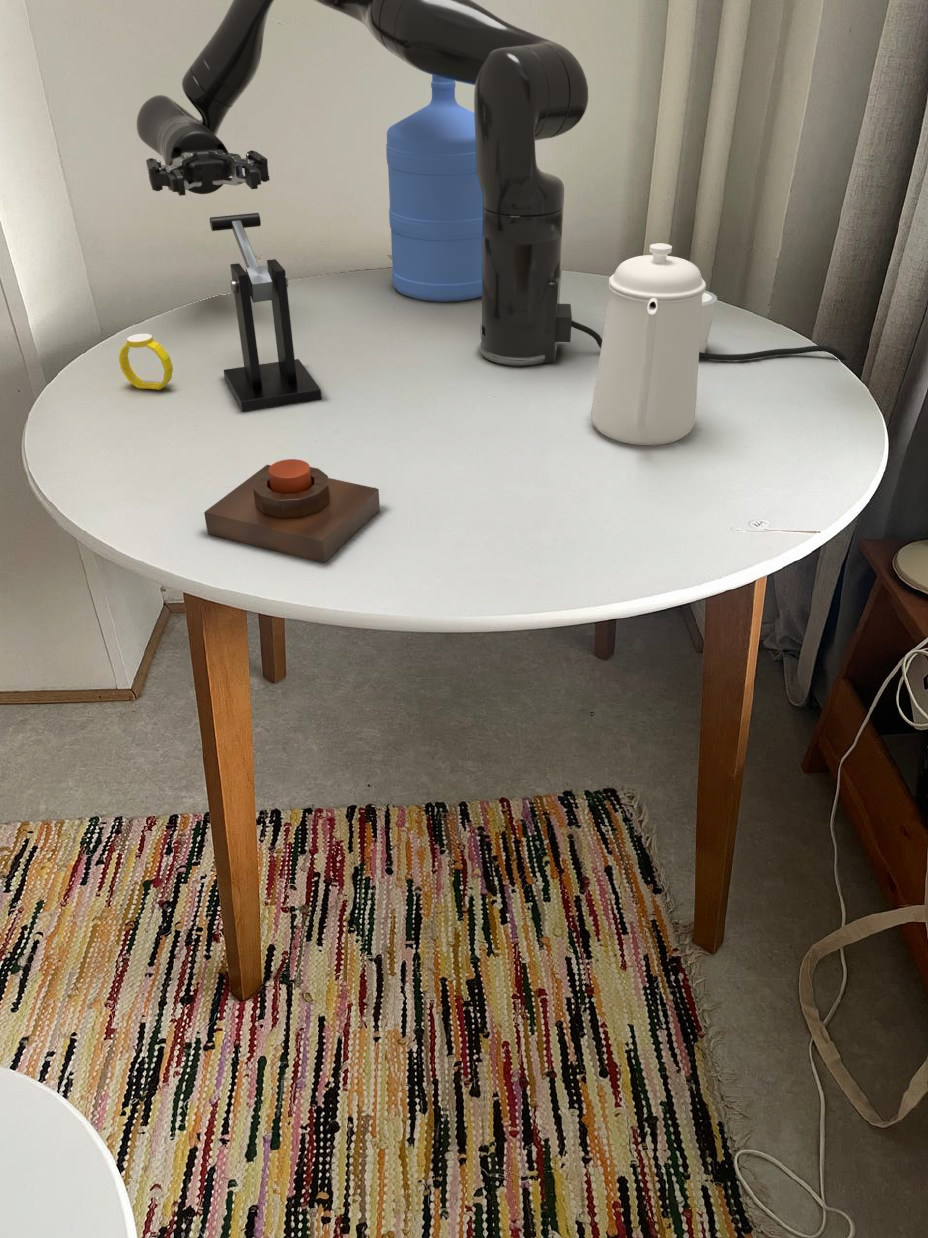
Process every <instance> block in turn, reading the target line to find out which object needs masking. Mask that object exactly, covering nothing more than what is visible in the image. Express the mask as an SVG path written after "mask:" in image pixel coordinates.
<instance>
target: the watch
mask: <svg viewBox="0 0 928 1238" xmlns="http://www.w3.org/2000/svg"><path fill="white" fill-rule="evenodd" d="M126 342H127V343H125V344H124V345H123V346H122V347H121V348H120V353H119V356H118V358H119V359H118V360H119V365H120V369H121V372H122V373H123V375H124V376H125V379H126V380H127V381H128V382H129V383H130V384H132V385H133V386H134V387H136V389H139V390H140V389H141V390H142V389H143V390H145V389H146V390H157V391H160V390H162V389H163V388H164V387H166V386H167V385H168V384H169V382H170V381H171V380H172V378H173V370H174V366H173V363H172V360H171V356H170V355H169V353H168V352H167V351H166V350H165V348H164V347H163V345H161V344H160V343H159V342H157V341H155V340H154V338H153V335H152V334H150V333H137V334H132V335H130V336H128V337H127V338H126ZM144 347H146V348H148V349H149V350H151V351H153V352H154V353H155V355H156V356H157V357H158V359H159V360H160V362H161V365H162V367H163V371H164V372H163V379H162V382H148V381H147V382H146V381H143V380H142V378H140V377H139V376H137V374H136V373H135V371H134V369H133V368H132V367H131V364H130V360H129V352H130V349H131V348H144Z"/></svg>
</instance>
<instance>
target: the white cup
mask: <svg viewBox="0 0 928 1238" xmlns="http://www.w3.org/2000/svg"><path fill="white" fill-rule="evenodd" d="M717 302H718V296H717V295H716V294H715V293H713V292H712V291H711V292H710V291H708V290H705V292H704V294H703V295H702V312H701V329H700V345H699V352H701V353H706V349H707V343H708V340H709V336H710V333H711V329H712V328H711V327H712V323H713V320H714V315H715V311H716V306H717Z"/></svg>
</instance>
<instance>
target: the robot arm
mask: <svg viewBox="0 0 928 1238" xmlns="http://www.w3.org/2000/svg"><path fill="white" fill-rule="evenodd" d="M313 1H314V2H316V3H318V4H319V5H322V6H324V7H326V8H329V9H331V10H334V11H337V12H339V13H341V14H343V15H345V16H347V17H350V18H352V19H354V20H356V21H358V22H359V23H361V24H363V25H364V26H365V27H366V28H367V30H368V31H369V33H370V35H371V36H372V37H373V38H374V39H375V40H376V41H377V42H378V43H379V44H380V45H381V46H382V47H383V48H384V49H386V50H387V51H389V52H390V53H391V54H393V55H394V56H396V58H398V59H400V60H401V61H403V62H404V63H405V64H407V65H409V66H411V67H412V68H414V69H416V70H419V71H420V72H423V73H425V74H428V75H431V76H432V75H434V76H438V77H441V78H445V79H449V80H453V81H455V82H458V83H462V84H468V85H472V86H474V93H473V111H474V112H473V113H474V120H475V140H476V166H477V174H478V179H479V183H480V186H481V190H482V196H483V215H482V296H481V326H480V329H479V331H480V333H479V334H480V340H481V342H480V354H481V355H482V357H483V358H485V359H486V360H488V361H491V362H494V363H496V364H501V365H507V366H517V367H518V366H521V367H522V366H534V365H539V364H544V363H551V364H552V363H555V360H556V356H557V353H558V343H571V339H572V328H574V329H576V330H578V331H581V332H583V333H586V334H587V335H589V336H591V337H592V338H593V339H594V340H595V342H596V343H597V345H598V347H599V349H600V350H601V345H602V339H603V337H601V335H600V334H599V333H598V332H597V331H595V330H593V329H592V328H591V327H588V326H587V325H584V324H582V323H579V322H577V321H574V320H573V315H572V305H571V303H561V302H560V301H561V284H562V283H561V282H562V270H561V262H562V261H561V259H562V242H563V241H562V240H563V221H564V204H565V185H564V181H562V179H561V178H559V177H558V176H556V175H554V174H552V173H548V172H544V171H542V170H541V169H540V168H539V167H538V164H537V157H536V155H537V154H536V141H542V140H547V139H552V138H556V137H559V136H561V135H564V134H567V132H569V131H571V130H572V129H574V128H575V127H576V126H577V125H578V124H579V123H580V121H581V120H582V118H583V116H584V115H585V113H586V111H587V109H588V108H587V107H588V103H589V85H588V79H587V77H586V74H585V72H584V69H583V67H582V65H581V64H580V62H579V60H578V59H577V58H576V56H575V55H574V54H573V53H572V52H571V51H570V50H569V49H568V48H567V47H565V46H563V45H562V44H559V43H557V42H556V41H552V40H550V39H547V38H545V37H542V36H540V35H537V34H535V33H533V32H529V31H527V30H524V29H522V28H520V27H517V26H515V25H513V24H511V23H509V22H507V21H505V20H503V19H502V18H500V17H498V16H497V15H495V14H494V13H492V12H491V11H489V10H488V9H486V8H485V7H483V6H481V5H480V4H479V3H477V2H476V1H474V0H313ZM274 2H275V0H232V2H231V4H230V6H229V8H228V9H227V12H226V14H225V16H224V18H223V19H222V21H221V22H220V24H219V25H218V27H217V29H216V30H215V32H214V34H213V35H212V36H211V38H210V39H209V40H208V42H207V43H206V45H205V46H204V47H203V49H202V50H201V51H200V53H199V54H198V55H197V57H196V58H195V59H194V61H193V62H192V64H191V65H190V66H189V68H188V69H187V71H185V74H184V76H183V77H182V80H181V87H182V91H183V93H184V95H185V97H186V98H187V99H188V101H189V102H190V104H191V105H192V106H193V107H194V108H195V109H196V111H197V112H198V113H199V115H200V117H201V119H198V118H196V117H195V116H194V115H193V114H192V113H190V112H189V111H188V110H186V109H185V108H184V107H182V106H181V105H180V104H178V103H177V102H176V101H175V100H174V99H172V98H170V97H169V96H167V95H163V94H158V95H154V96H151V97H149V98H148V99H147V100H146V101H145V102H143V104H142V105H141V107H140V109H139V111H138V113H137V116H136V130H137V135H138V137H139V139H140V140H141V142H143V143H144V144H145V145H146V146H148V147H149V148H150V149H152V150H153V151H154V152H156V153H157V154H158V155H160V156H161V158H163V160H164V164H162V162H161V160H157V159H156V158H153V157H150V158H148V159H146V160H145V163H146V169H147V175H148V179H149V183H150V187H151V190H152V191H155V192H161V191H162V190H164V187H168V189H167V190H168V191H171V192H173V193H177V195H178V196H179V197H180V196H186V195H187V194H186V193H187V192H186V191H188V192H190V193H193V194H198V195H208V194H213V193H214V192H216V191H218V190H219V189H221V188H222V187H223V186H224V185H228V186H239V185H242V184H245V185H247V186H248V187H249V188H250V189H251V190H258V189H259V187H258V186H260V185H262V182H263V183H266V182H269V181H270V175H269V174H270V173H269V166H268V163H269V161H268V158H266V157H265V156H264V155H262V154H260V153H259V152H258V151H256V150H252V149H251V150H249V151H246V153H245V158H244V157H243V158H242V157H241V155H240V154H238V153H233V152H229V151H228V149H227V147H226V145H225V144H224V143H223V141H222V140H221V139H220V138H219V137H218V133H219V131H220V128H221V126H222V123H223V122H224V120H225V118H226V116H227V114H228V113H229V111H230V110H231V109H232V108H233V106H234V105H235V103H236V102H237V101H238V100H239V98H240V97H241V96H242V94H244V92H245V91H246V90H247V88H248V87H249V86H250V84H251V82H252V81H253V80H254V78H255V76H256V74H257V72H258V69H259V66H260V63H261V59H262V53H263V47H264V46H263V45H264V36H265V30H266V23H267V19H268V15H269V12H270V10H271V8H272V5H273V3H274ZM243 170H244V172H243ZM814 352H815V353H816V352H824V353H829V354H832V355H833V356H835V357H836V358H838V359H839V360H841V361H848V358H847V356H846V355H845V354H844V353H843V352H842V351H841V350H840V349H838V348H836V347H833V346H830V345H823V344H821V345H819V344H817V345H809V346H802V347H792V348H791V347H790V348H789V347H788V348H775V349H768V350H767V349H766V350H760V351H756V352H747V353H733V354H731V353H729V354H728V353H727V354H725V353H712V352H711V353H709V352H705V353H701V352H699V360H711V361H746V360H754V359H760V358H767V357H773V356H782V355H783V356H784V355H786V356H787V355H799V354H807V353H814Z"/></svg>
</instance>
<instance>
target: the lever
mask: <svg viewBox="0 0 928 1238" xmlns="http://www.w3.org/2000/svg"><path fill="white" fill-rule="evenodd" d="M209 225H210V230H211V232H215V231H216V232H218V231H228V230H232V232H233V235H234V238H235V240H236V243H237V246H238V248H239V251H240V254H241V256H242V258H243V261H244V264H245V266H246V267H245V272H246V273H247V274H248V281H249V289H250V296H251V302H252V303H259V302H267V301H271V300H273V283H272V280H271V277H270V275H269V272H268V266H267V265H259V262H258V260H257V258H256V255H255V252H254V250H253V248H252V245H251V243H250V240H249V238H248V235H247V233H246V230H245V229H247V228H258V227H261V225H262V221H261V214H260V213H259V212H251V213H250V212H249V213H242V214H233V215H232V214H230V215H220V216H211V217H209Z"/></svg>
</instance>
